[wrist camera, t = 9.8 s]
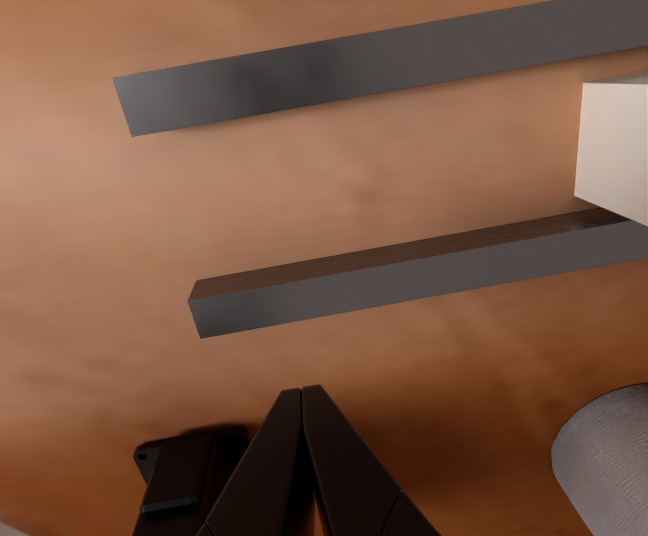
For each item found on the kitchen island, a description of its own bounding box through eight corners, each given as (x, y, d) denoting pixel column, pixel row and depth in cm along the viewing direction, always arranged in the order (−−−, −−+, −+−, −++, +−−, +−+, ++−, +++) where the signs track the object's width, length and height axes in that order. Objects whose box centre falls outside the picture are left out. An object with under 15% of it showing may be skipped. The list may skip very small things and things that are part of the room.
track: (764, 215, 21) (892, 252, 17) (207, 316, 21) (186, 381, 17) (841, -48, 17) (1045, -93, 12) (130, 77, 17) (72, 78, 12)
